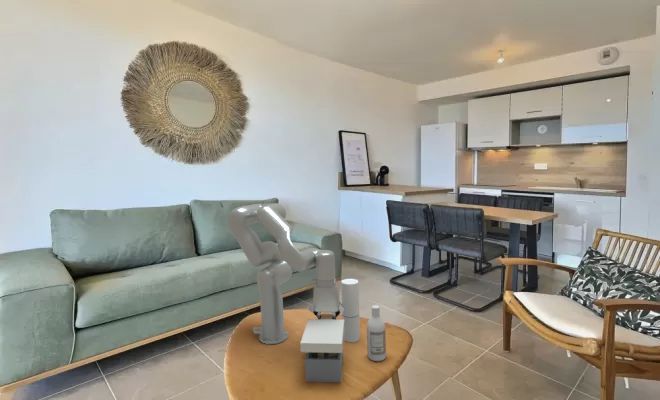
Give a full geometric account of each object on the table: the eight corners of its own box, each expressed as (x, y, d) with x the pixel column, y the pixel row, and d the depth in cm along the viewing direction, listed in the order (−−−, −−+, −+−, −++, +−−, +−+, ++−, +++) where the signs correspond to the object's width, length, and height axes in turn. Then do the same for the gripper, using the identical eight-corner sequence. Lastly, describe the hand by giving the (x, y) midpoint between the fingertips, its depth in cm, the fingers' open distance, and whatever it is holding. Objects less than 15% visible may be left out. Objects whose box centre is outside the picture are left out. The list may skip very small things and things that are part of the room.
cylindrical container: (359, 334, 148) (358, 278, 146) (359, 342, 141) (358, 284, 139) (343, 334, 149) (341, 278, 147) (342, 342, 142) (340, 284, 139)
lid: (342, 352, 113) (341, 343, 113) (300, 352, 115) (300, 343, 114) (344, 321, 136) (344, 313, 136) (310, 321, 138) (310, 313, 137)
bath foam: (389, 358, 129) (388, 307, 127) (374, 363, 126) (372, 312, 124) (379, 350, 135) (378, 301, 133) (364, 354, 132) (362, 305, 130)
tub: (340, 382, 116) (339, 360, 115) (305, 381, 117) (304, 359, 116) (342, 356, 131) (342, 336, 131) (312, 355, 133) (311, 336, 132)
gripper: (303, 285, 130) (304, 330, 132) (346, 285, 129) (348, 331, 131) (306, 278, 138) (307, 322, 140) (347, 278, 136) (348, 322, 138)
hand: (327, 326), depth 135 cm, fingers closed on lid, 4 cm apart
